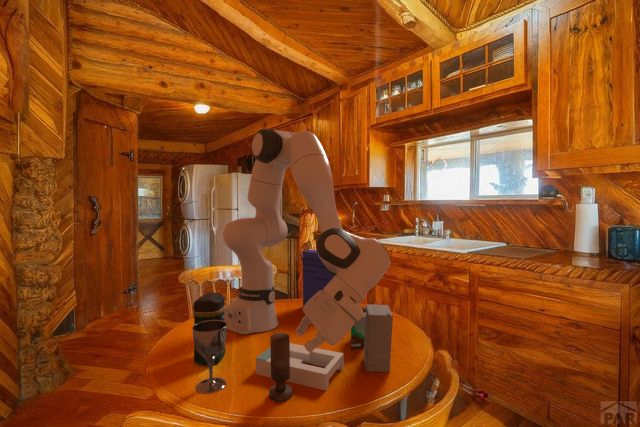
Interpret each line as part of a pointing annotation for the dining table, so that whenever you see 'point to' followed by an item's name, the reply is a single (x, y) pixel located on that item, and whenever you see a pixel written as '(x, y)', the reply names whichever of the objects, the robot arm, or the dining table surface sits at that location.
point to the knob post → (280, 367)
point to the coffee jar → (208, 318)
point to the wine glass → (210, 350)
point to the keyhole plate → (305, 366)
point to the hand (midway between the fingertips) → (302, 341)
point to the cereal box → (313, 275)
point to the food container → (358, 332)
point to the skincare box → (377, 338)
